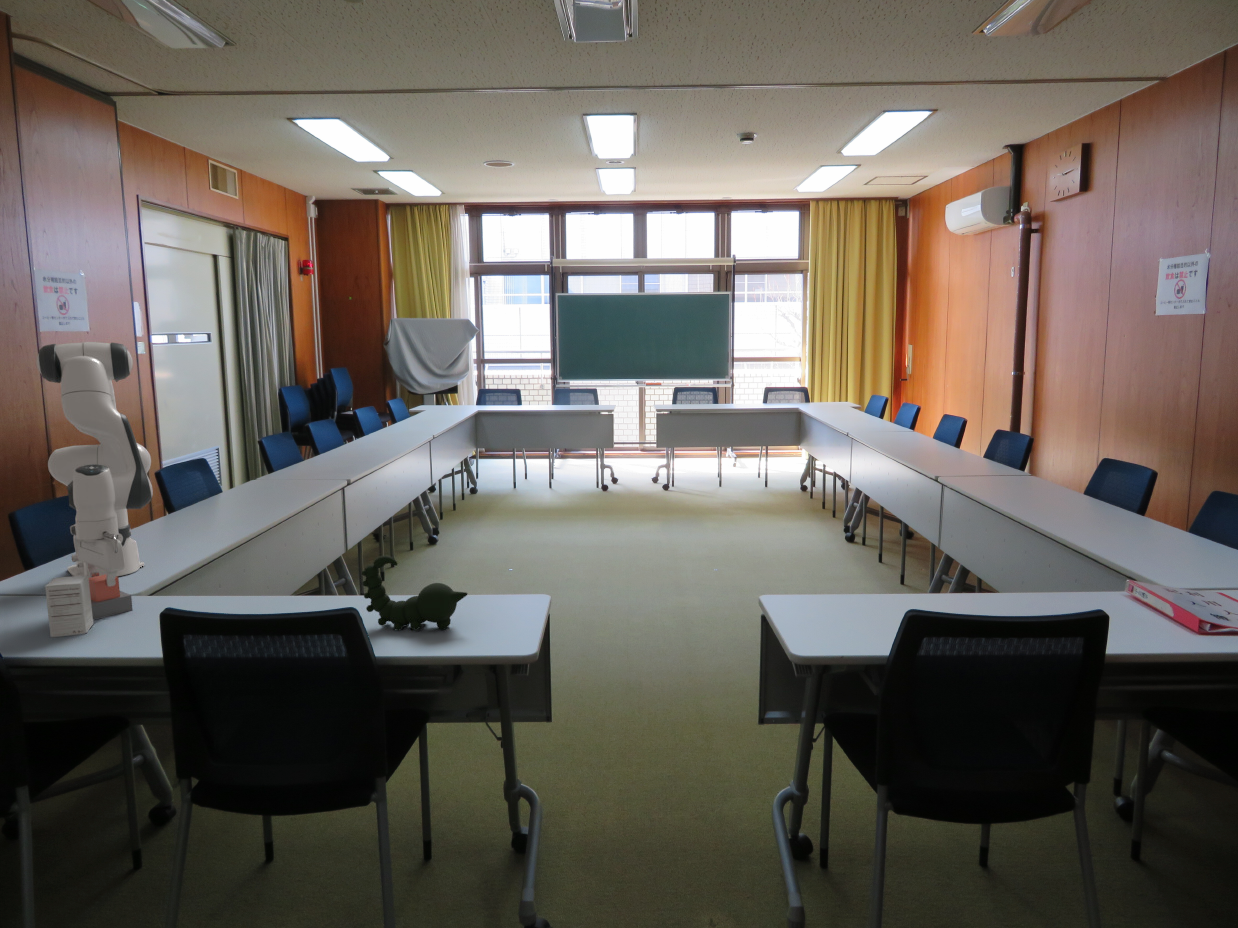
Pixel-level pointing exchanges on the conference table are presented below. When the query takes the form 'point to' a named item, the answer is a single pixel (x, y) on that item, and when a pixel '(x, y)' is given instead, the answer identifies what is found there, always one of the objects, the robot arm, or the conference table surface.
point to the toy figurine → (409, 601)
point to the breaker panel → (112, 606)
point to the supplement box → (69, 605)
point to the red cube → (103, 589)
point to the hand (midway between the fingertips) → (102, 582)
